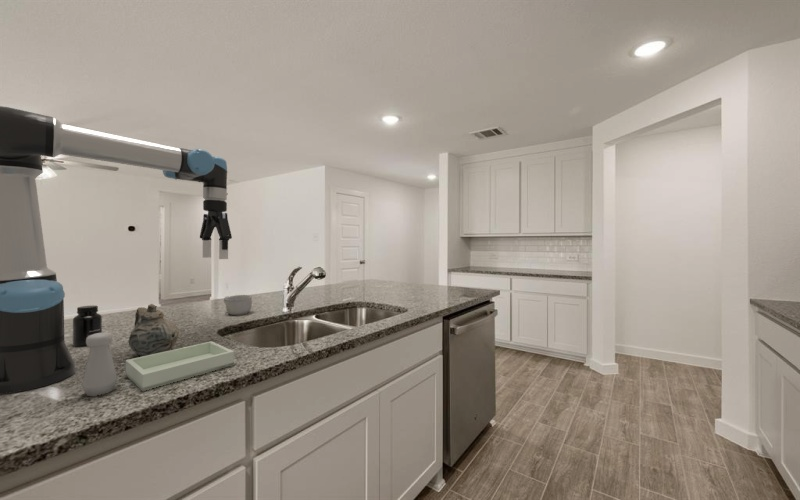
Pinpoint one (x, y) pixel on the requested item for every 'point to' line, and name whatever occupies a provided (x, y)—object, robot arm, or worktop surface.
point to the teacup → (238, 304)
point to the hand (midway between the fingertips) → (214, 258)
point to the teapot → (152, 332)
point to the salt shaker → (99, 366)
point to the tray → (178, 364)
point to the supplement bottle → (86, 324)
